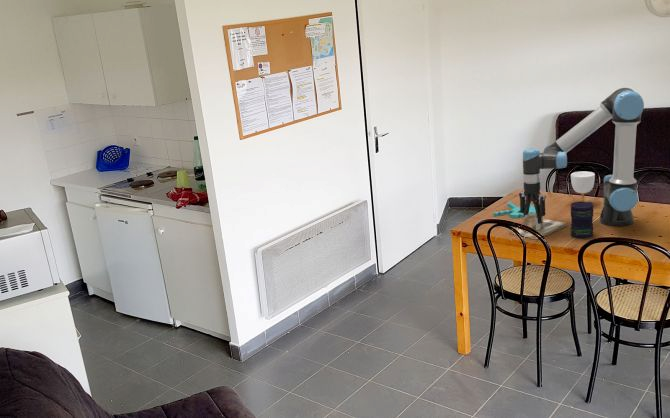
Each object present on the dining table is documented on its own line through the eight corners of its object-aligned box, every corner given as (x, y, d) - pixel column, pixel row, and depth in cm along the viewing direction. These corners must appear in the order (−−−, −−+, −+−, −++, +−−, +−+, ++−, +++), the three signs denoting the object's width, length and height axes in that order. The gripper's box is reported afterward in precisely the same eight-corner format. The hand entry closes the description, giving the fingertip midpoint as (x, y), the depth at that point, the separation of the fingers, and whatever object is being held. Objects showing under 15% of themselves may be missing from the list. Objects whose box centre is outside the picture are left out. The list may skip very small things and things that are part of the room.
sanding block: (543, 227, 317) (542, 214, 315) (531, 232, 311) (531, 219, 310) (534, 225, 320) (533, 213, 319) (522, 230, 315) (522, 217, 314)
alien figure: (493, 217, 347) (530, 220, 335) (493, 213, 346) (530, 216, 334) (508, 206, 362) (544, 209, 350) (508, 202, 361) (544, 205, 349)
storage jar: (592, 239, 299) (592, 207, 295) (569, 238, 303) (569, 207, 299) (593, 232, 308) (593, 201, 304) (571, 231, 312) (571, 201, 308)
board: (566, 226, 320) (566, 223, 319) (535, 240, 306) (535, 236, 306) (539, 220, 331) (539, 217, 331) (509, 233, 318) (509, 230, 317)
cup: (571, 202, 355) (570, 171, 350) (594, 202, 351) (594, 171, 346) (570, 208, 345) (570, 177, 340) (594, 208, 340) (595, 176, 336)
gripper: (553, 182, 305) (554, 229, 311) (520, 177, 319) (522, 223, 325) (543, 186, 300) (544, 234, 307) (510, 181, 314) (512, 227, 321)
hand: (533, 228), depth 316 cm, fingers closed on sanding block, 5 cm apart
